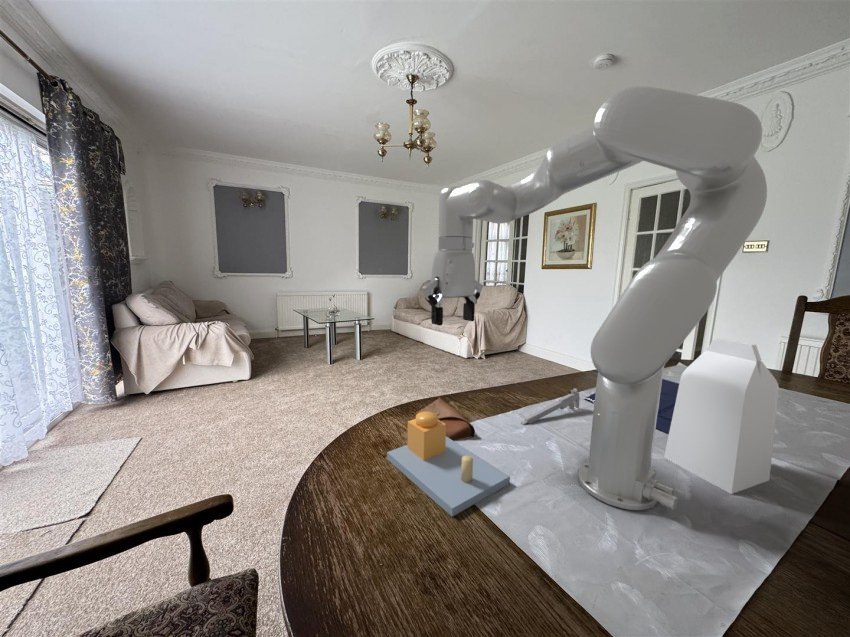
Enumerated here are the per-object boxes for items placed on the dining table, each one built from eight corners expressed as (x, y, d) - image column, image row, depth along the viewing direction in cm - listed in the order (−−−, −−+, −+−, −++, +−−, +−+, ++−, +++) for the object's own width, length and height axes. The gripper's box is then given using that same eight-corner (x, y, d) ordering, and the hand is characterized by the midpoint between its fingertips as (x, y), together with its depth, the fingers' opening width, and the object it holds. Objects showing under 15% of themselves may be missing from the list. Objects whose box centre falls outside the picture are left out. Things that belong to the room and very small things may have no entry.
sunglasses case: (413, 411, 92) (424, 389, 93) (433, 420, 95) (444, 398, 96) (443, 444, 76) (457, 417, 76) (466, 453, 79) (479, 427, 79)
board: (509, 483, 63) (511, 456, 62) (452, 516, 54) (452, 485, 53) (439, 438, 78) (440, 416, 77) (387, 459, 70) (387, 433, 69)
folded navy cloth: (732, 407, 95) (733, 395, 94) (670, 445, 82) (671, 431, 81) (642, 380, 116) (643, 370, 115) (582, 406, 103) (582, 395, 102)
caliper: (575, 408, 96) (577, 387, 95) (578, 410, 95) (580, 388, 94) (520, 424, 86) (522, 400, 85) (523, 426, 85) (525, 402, 84)
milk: (663, 457, 72) (680, 336, 67) (699, 448, 76) (717, 333, 71) (731, 493, 61) (756, 351, 56) (769, 480, 65) (794, 346, 60)
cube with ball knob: (445, 451, 70) (446, 417, 69) (423, 460, 67) (424, 425, 66) (428, 440, 75) (429, 408, 73) (407, 448, 71) (407, 414, 70)
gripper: (471, 248, 84) (468, 317, 87) (413, 245, 74) (413, 323, 76) (494, 247, 78) (491, 321, 81) (435, 244, 68) (434, 329, 70)
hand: (453, 322), depth 79 cm, fingers open, 9 cm apart
